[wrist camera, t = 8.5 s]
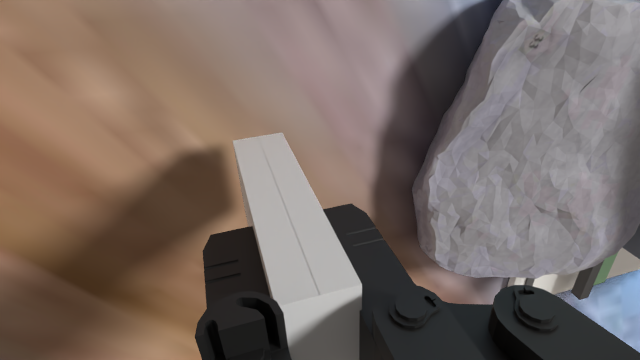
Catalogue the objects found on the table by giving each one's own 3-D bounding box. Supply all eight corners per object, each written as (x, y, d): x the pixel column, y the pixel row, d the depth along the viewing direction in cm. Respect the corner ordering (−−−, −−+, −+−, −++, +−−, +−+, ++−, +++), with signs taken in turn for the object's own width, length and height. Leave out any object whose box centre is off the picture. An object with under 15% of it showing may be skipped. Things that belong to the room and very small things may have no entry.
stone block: (385, 228, 21) (565, 227, 22) (412, 295, 16) (635, 290, 17) (426, -33, 15) (665, -17, 16) (483, -33, 11) (801, -12, 12)
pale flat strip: (513, 264, 22) (519, 270, 22) (654, 226, 24) (662, 231, 24) (502, 304, 24) (508, 310, 23) (634, 265, 26) (642, 270, 26)
